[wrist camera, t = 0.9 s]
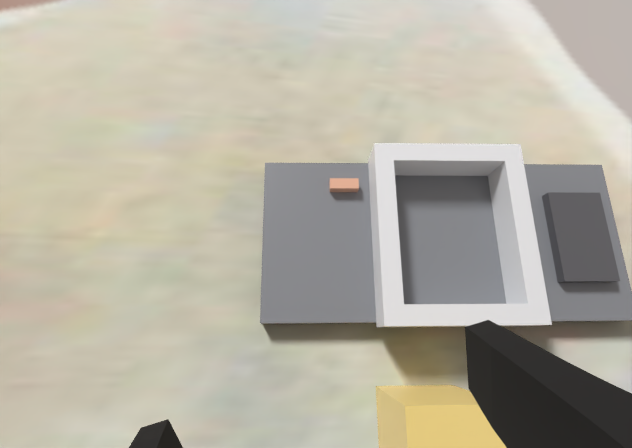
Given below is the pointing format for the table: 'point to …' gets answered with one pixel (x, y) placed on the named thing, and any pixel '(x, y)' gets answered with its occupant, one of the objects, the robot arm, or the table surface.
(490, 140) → the table surface
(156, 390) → the table surface
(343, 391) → the table surface
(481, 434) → the plug
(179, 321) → the table surface
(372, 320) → the grey boxy piece
